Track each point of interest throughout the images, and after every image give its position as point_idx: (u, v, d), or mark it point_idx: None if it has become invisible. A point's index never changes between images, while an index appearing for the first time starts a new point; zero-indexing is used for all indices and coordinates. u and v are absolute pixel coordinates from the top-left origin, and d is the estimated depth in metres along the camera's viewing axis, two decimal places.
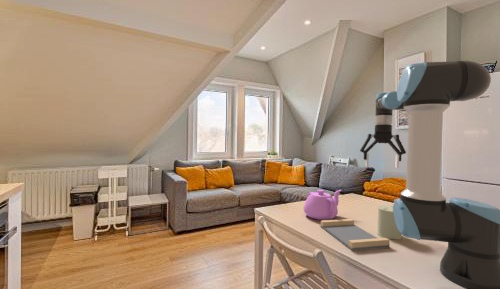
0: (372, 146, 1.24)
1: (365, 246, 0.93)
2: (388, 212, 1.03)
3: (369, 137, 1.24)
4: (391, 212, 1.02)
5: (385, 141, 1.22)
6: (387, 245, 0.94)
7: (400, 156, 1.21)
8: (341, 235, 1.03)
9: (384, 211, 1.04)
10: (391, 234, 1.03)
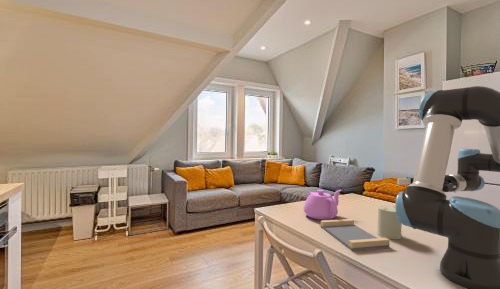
0: None
1: (365, 246, 0.93)
2: (388, 212, 1.03)
3: None
4: (391, 212, 1.02)
5: None
6: (387, 245, 0.94)
7: None
8: (341, 235, 1.03)
9: (384, 211, 1.04)
10: (391, 234, 1.03)
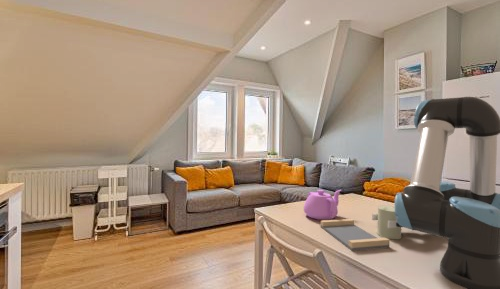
0: None
1: (365, 246, 0.93)
2: (388, 212, 1.03)
3: None
4: (391, 212, 1.02)
5: None
6: (387, 245, 0.94)
7: None
8: (341, 235, 1.03)
9: (384, 211, 1.04)
10: (391, 234, 1.03)
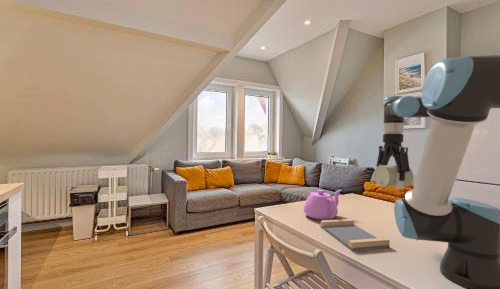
0: (383, 160, 1.09)
1: (365, 246, 0.93)
2: (387, 185, 1.02)
3: (379, 150, 1.11)
4: (388, 183, 1.02)
5: (391, 153, 1.05)
6: (387, 245, 0.94)
7: (400, 174, 1.00)
8: (341, 235, 1.03)
9: (385, 186, 1.04)
10: (407, 182, 1.03)
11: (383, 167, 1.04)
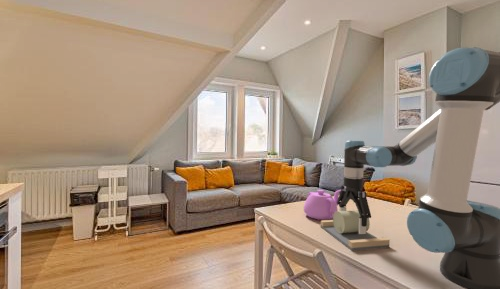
0: (343, 200, 1.09)
1: (365, 246, 0.93)
2: (345, 230, 1.02)
3: (341, 190, 1.10)
4: (345, 227, 1.01)
5: (351, 197, 1.03)
6: (387, 245, 0.94)
7: (362, 220, 0.97)
8: (341, 235, 1.03)
9: (343, 232, 1.03)
10: None
11: (338, 212, 1.06)
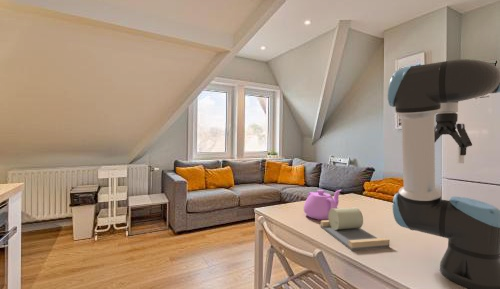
0: None
1: (365, 246, 0.93)
2: (339, 217, 1.06)
3: None
4: (338, 214, 1.06)
5: (445, 132, 1.08)
6: (387, 245, 0.94)
7: (462, 149, 1.02)
8: (341, 235, 1.03)
9: (340, 221, 1.05)
10: (357, 213, 1.08)
11: (329, 212, 1.13)
